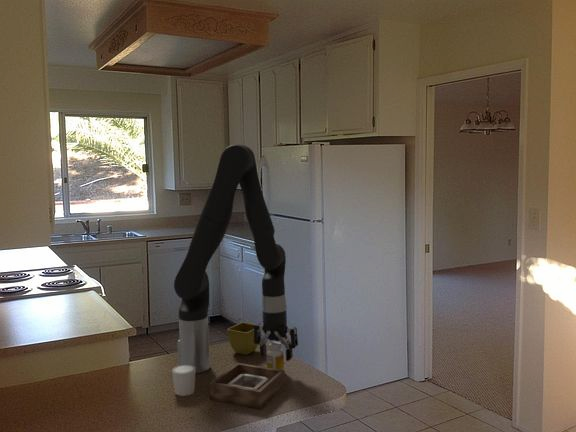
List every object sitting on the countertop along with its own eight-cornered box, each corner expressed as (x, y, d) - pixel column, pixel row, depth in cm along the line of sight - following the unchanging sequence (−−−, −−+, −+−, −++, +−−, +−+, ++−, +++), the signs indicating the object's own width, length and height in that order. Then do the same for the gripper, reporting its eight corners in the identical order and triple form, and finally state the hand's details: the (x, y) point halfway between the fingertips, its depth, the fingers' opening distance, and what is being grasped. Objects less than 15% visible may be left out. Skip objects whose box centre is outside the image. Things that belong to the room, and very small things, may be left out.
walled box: (210, 399, 155) (209, 383, 154) (238, 378, 169) (237, 362, 169) (260, 409, 148) (260, 392, 148) (285, 386, 163) (284, 370, 162)
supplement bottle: (284, 370, 175) (284, 340, 174) (282, 376, 170) (282, 346, 169) (268, 369, 176) (267, 340, 175) (265, 376, 171) (265, 346, 170)
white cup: (201, 388, 163) (200, 366, 162) (187, 398, 156) (186, 374, 156) (182, 385, 165) (181, 362, 165) (168, 394, 159) (167, 371, 158)
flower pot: (247, 358, 186) (246, 332, 185) (227, 353, 191) (226, 328, 190) (262, 350, 193) (261, 325, 192) (242, 346, 198) (242, 322, 197)
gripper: (248, 309, 170) (250, 360, 172) (290, 313, 164) (292, 365, 166) (259, 303, 177) (261, 352, 179) (299, 306, 171) (301, 357, 173)
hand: (276, 358), depth 172 cm, fingers open, 8 cm apart
